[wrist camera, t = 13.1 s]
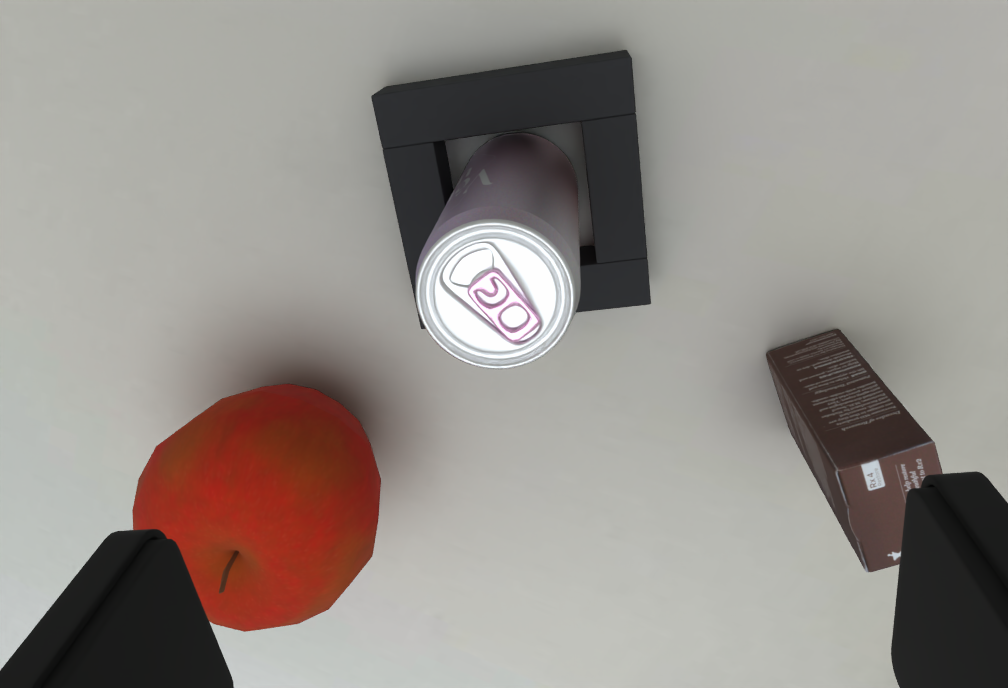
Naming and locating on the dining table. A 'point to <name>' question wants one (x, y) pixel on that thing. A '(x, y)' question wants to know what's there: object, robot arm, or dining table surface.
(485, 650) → the dining table surface
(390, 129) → the socket pad
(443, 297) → the beverage can
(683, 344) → the dining table surface
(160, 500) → the apple
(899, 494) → the box
